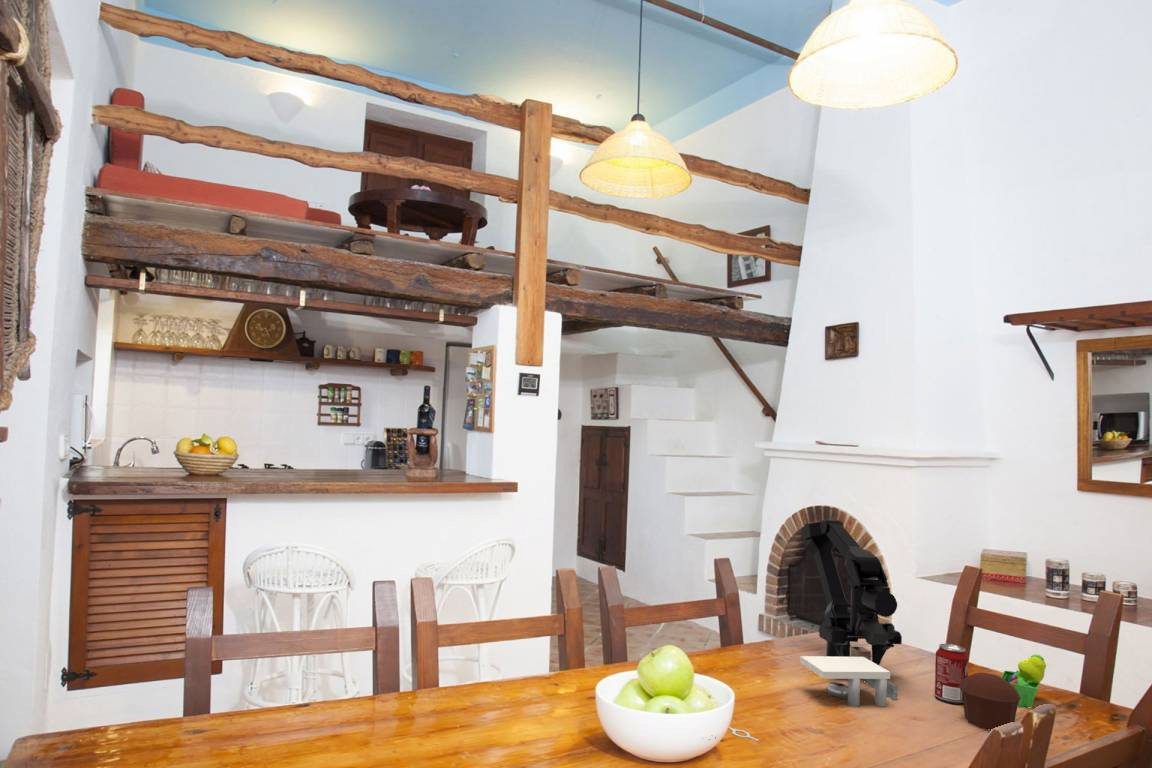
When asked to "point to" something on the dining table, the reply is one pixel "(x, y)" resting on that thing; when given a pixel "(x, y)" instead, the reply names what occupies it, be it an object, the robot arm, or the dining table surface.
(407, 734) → the dining table surface
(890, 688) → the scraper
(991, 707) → the muffin
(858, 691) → the low stand
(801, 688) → the dining table surface
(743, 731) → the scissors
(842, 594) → the robot arm
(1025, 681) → the green toy figure
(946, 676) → the soda can
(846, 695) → the token
